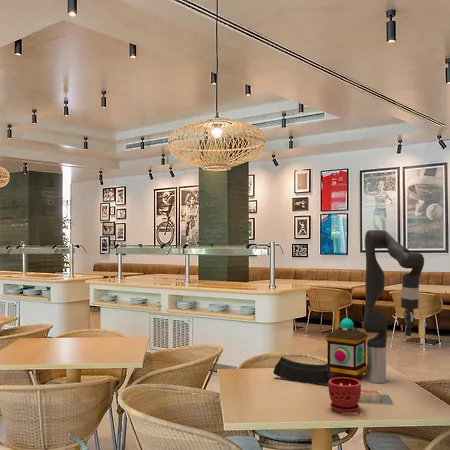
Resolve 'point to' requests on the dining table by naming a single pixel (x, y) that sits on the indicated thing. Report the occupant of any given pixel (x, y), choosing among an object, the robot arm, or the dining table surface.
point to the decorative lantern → (347, 350)
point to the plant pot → (344, 394)
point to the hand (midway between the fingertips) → (408, 335)
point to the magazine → (303, 372)
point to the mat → (384, 400)
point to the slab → (370, 395)
